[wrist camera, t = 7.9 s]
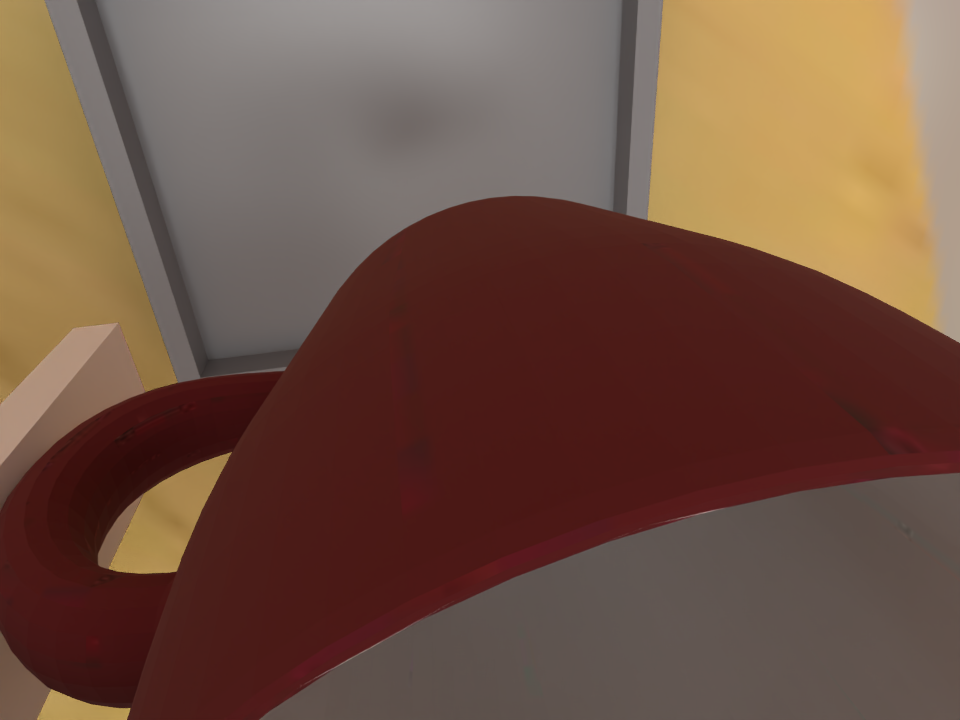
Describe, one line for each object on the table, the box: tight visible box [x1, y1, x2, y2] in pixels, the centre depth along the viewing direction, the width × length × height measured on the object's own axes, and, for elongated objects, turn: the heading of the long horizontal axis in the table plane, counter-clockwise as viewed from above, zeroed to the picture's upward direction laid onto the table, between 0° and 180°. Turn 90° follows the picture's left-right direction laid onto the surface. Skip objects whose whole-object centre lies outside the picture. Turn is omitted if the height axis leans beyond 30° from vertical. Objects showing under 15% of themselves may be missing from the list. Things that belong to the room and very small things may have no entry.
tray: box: [45, 0, 663, 383], centre depth 27 cm, size 22×18×2 cm
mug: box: [0, 196, 960, 720], centre depth 9 cm, size 10×8×10 cm
